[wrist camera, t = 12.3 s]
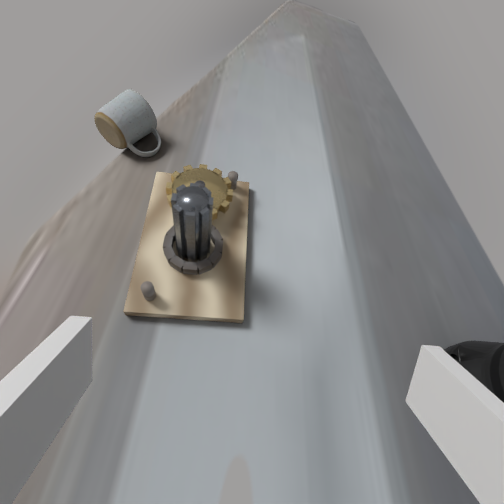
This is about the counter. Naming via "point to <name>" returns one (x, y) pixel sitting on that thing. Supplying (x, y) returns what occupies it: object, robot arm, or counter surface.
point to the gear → (205, 179)
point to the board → (191, 264)
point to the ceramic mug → (127, 122)
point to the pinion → (192, 221)
